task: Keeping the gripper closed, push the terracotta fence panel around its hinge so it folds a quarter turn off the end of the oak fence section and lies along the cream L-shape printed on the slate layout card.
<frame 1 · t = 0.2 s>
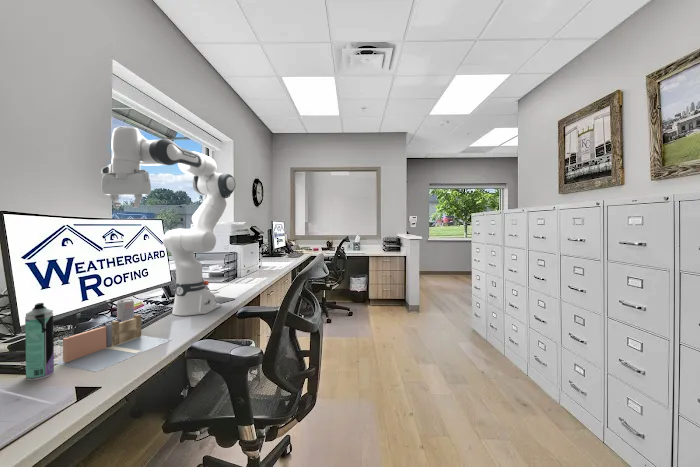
hand: (126, 207, 120), 48 cm above the table, tool pointing down, fingers open, 8 cm apart
hinged fence panel: (89, 341, 101), point 4 cm above the table, hinge at 0.0°
fixed fence section: (125, 340, 113), resting on layout card
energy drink: (125, 332, 124), on the table
spray can: (40, 377, 88), on the table
layout card: (116, 351, 105), on the table
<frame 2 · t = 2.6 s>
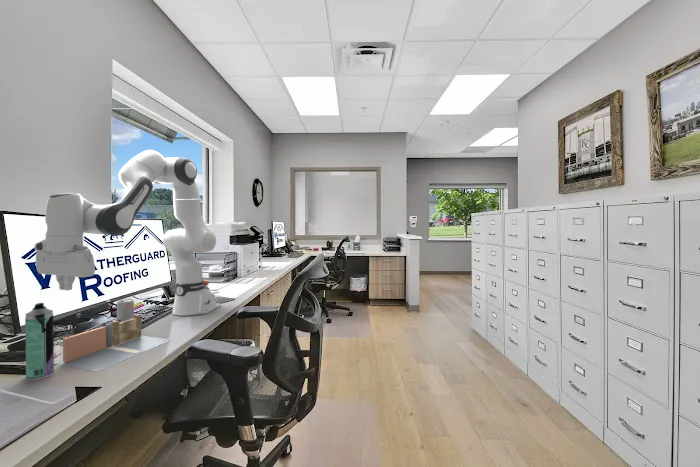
hand: (65, 289, 100), 21 cm above the table, tool pointing down, fingers closed
nothing on the table moved.
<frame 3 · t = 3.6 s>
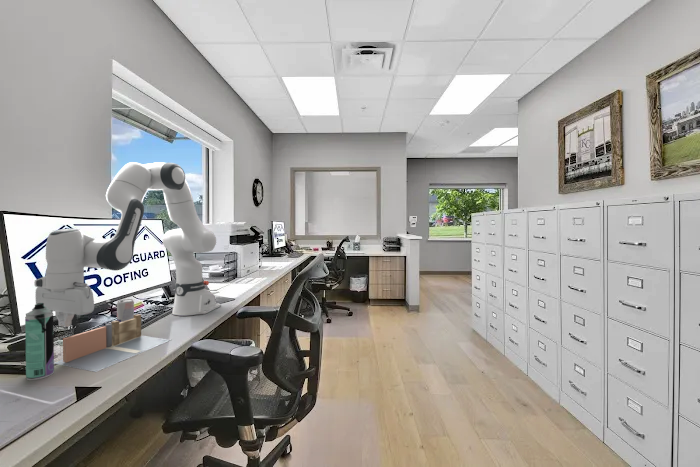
hand: (64, 325, 100), 10 cm above the table, tool pointing down, fingers closed
nothing on the table moved.
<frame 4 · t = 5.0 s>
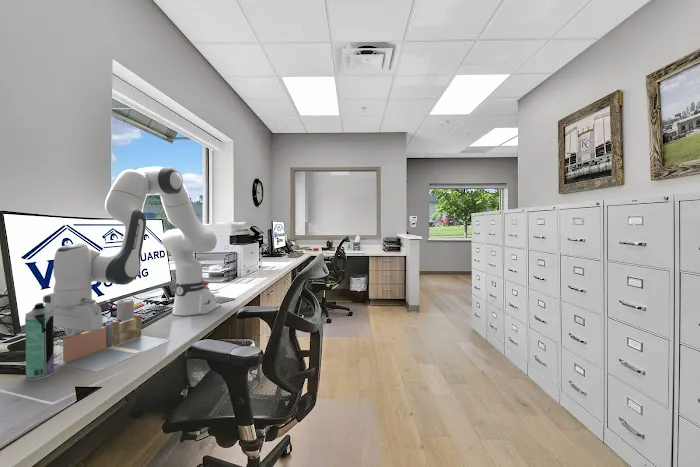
hand: (73, 341, 99), 5 cm above the table, tool pointing down, fingers closed
hinged fence panel: (89, 341, 101), point 4 cm above the table, hinge at 0.1°, touching gripper
everything else where it was.
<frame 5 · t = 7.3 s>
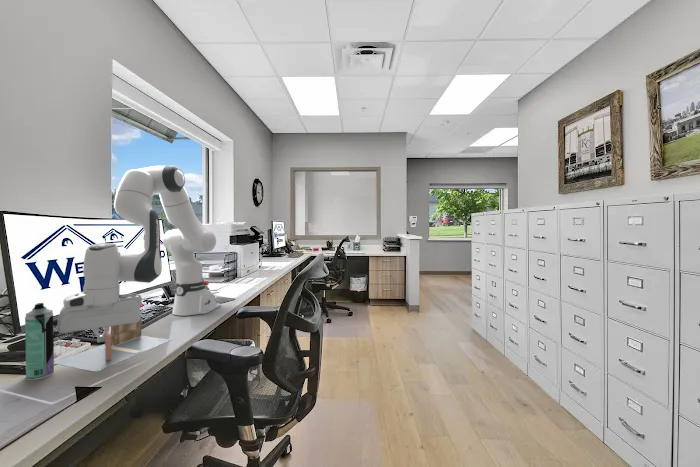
hand: (101, 341, 99), 6 cm above the table, tool pointing down, fingers closed
hinged fence panel: (108, 340, 102), point 4 cm above the table, hinge at 53.4°, touching gripper
everything else where it was.
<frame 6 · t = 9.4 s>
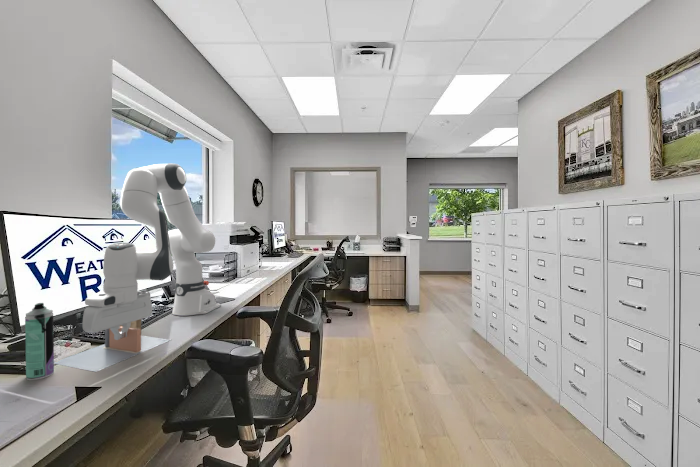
hand: (120, 338, 102), 5 cm above the table, tool pointing down, fingers closed
hinged fence panel: (122, 337, 106), point 4 cm above the table, hinge at 90.8°
everything else where it was.
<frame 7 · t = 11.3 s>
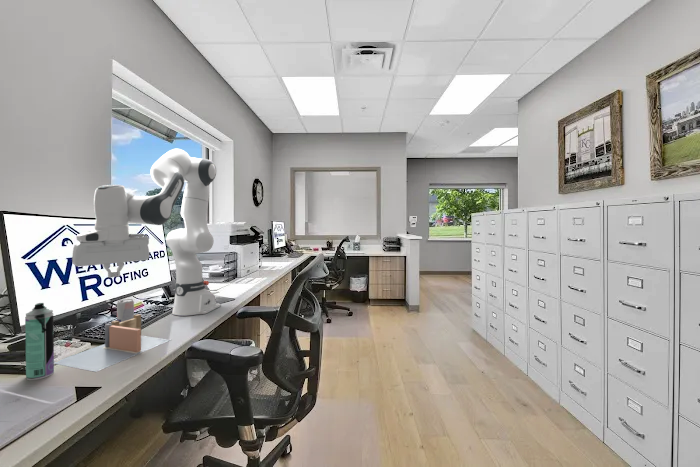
hand: (114, 276, 105), 24 cm above the table, tool pointing down, fingers closed
nothing on the table moved.
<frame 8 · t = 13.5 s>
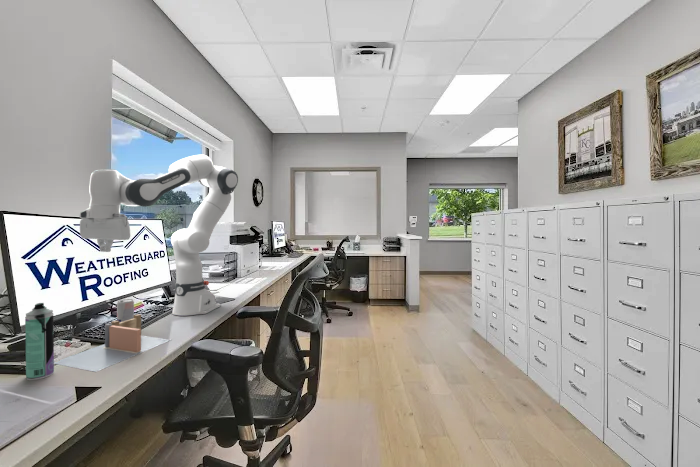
hand: (105, 251, 117), 31 cm above the table, tool pointing down, fingers closed
nothing on the table moved.
at the end: hinged fence panel at +91° (first picture: +0°); the gripper is holding nothing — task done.
